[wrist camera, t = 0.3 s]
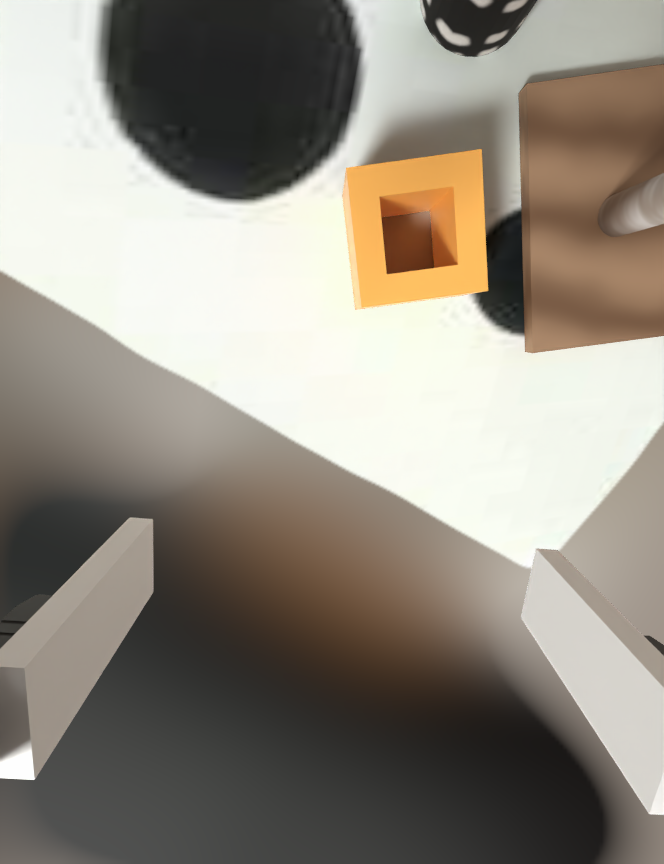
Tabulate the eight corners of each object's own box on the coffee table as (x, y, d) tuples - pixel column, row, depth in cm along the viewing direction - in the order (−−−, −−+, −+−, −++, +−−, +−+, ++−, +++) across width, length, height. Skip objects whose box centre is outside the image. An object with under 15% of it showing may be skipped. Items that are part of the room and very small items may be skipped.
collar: (342, 196, 37) (346, 167, 30) (452, 180, 36) (481, 149, 30) (355, 309, 39) (361, 307, 32) (459, 295, 39) (488, 290, 32)
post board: (518, 93, 35) (603, -6, 24) (699, 67, 35) (865, -45, 24) (525, 351, 40) (598, 363, 29) (684, 330, 40) (816, 334, 29)
